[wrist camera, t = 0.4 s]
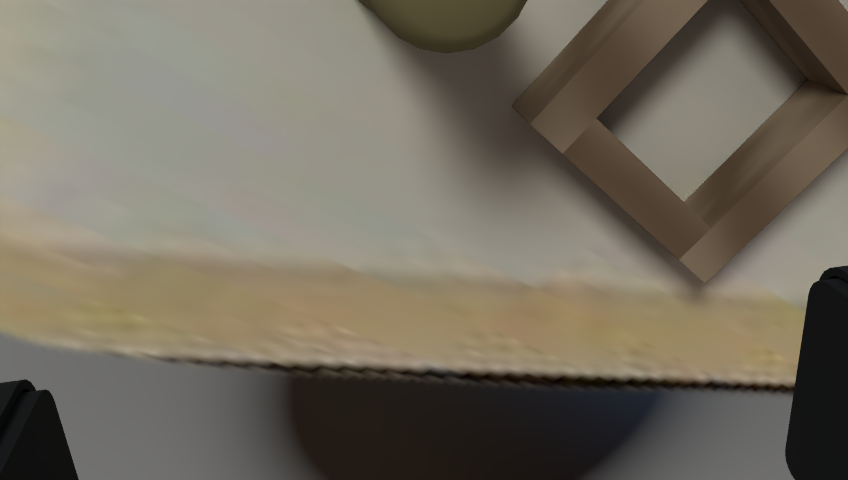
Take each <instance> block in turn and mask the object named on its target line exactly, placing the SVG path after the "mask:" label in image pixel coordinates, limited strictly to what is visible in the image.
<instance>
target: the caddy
mask: <svg viewBox="0 0 848 480" xmlns="http://www.w3.org/2000/svg"><path fill="white" fill-rule="evenodd" d="M707 1H708V0H608V1H607V2H606V3H605V4H604V5H603V7H602V8H601V9H600V10H599V11H598V12H597V13H596V14H595V15H594V16H593V18H592V19H591V20H590V21H589V22H588V23H587V24H586V25H585V26H584V27H583V28H582V30H581V31H580V32H579V33H578V34H577V35H576V36H575V37H574V38H573V39H572V41H571V42H570V43H569V44H568V45H567V46H566V47H565V48H564V49H563V50H562V52H561V53H560V54H559V55H558V56H557V57H556V58H555V59H554V60H553V61H552V62H551V64H550V65H549V66H548V67H547V68H546V69H545V70H544V71H543V72H542V73H541V75H540V76H539V77H538V78H537V79H536V80H535V81H534V82H533V83H532V84H531V86H530V87H529V88H528V89H527V90H526V91H525V92H524V93H523V94H522V95H521V96H520V98H519V99H518V100H517V101H516V102H515V103H514V104H513V105H512V107H513V108H514V109H515V110H516V111H517V112H518V113H519V114H520V115H521V116H522V117H523V118H524V119H525V120H526V121H527V122H528V123H529V124H530V125H531V126H532V127H533V128H535V129H536V130H537V131H538V132H539V133H540V134H541V135H542V136H543V137H544V138H546V139H547V140H548V141H549V142H550V143H551V144H552V145H553V146H554V147H555V148H557V149H558V150H559V151H560V152H561V153H562V154H563V155H564V156H565V157H566V158H568V159H569V160H570V161H571V162H572V163H573V164H574V165H575V166H576V167H577V168H578V169H580V170H581V171H582V172H583V173H584V174H585V175H586V176H587V177H588V178H589V179H591V180H592V181H593V182H594V183H595V184H596V185H597V186H598V187H599V188H600V189H602V190H603V191H604V192H605V193H606V194H607V195H608V196H609V197H610V198H611V199H613V200H614V201H615V202H616V203H617V204H618V205H619V206H620V207H621V208H622V209H624V210H625V211H626V212H627V213H628V214H629V215H630V216H631V217H632V218H633V219H635V220H636V221H637V222H638V223H639V224H640V225H641V226H642V227H643V228H644V229H645V230H647V231H648V232H649V233H650V234H651V235H652V236H653V237H654V238H655V239H656V240H658V241H659V242H660V243H661V244H662V245H663V246H664V247H665V248H666V249H667V250H669V251H670V252H671V253H672V254H673V255H674V256H675V257H676V258H677V259H678V260H680V261H681V262H682V263H683V264H684V265H685V266H686V267H687V268H688V269H689V270H691V271H692V272H693V273H694V274H695V275H696V276H697V277H698V278H699V279H700V280H702V281H703V282H704V283H706V282H707V281H708V280H709V279H711V278H712V277H713V276H714V275H715V274H716V273H717V272H718V271H719V270H720V269H721V268H722V267H723V266H724V265H725V264H726V263H727V262H728V261H729V260H730V259H731V258H733V257H734V256H735V255H736V254H737V253H738V252H739V251H740V250H741V249H742V248H743V247H744V246H745V245H746V244H747V243H748V242H749V241H750V240H751V239H752V238H754V237H755V236H756V235H757V234H758V233H759V232H760V231H761V230H762V229H763V228H764V227H765V226H766V225H767V224H768V223H769V222H770V221H771V220H772V219H773V218H774V217H776V216H777V215H778V214H779V213H780V212H781V211H782V210H783V209H784V208H785V207H786V206H787V205H788V204H789V203H790V202H791V201H792V200H793V199H794V198H795V197H796V196H798V195H799V194H800V193H801V192H802V191H803V190H804V189H805V188H806V187H807V186H808V185H809V184H810V183H811V182H812V181H813V180H814V179H815V178H816V177H817V176H819V175H820V174H821V173H822V172H823V171H824V170H825V169H826V168H827V167H828V166H829V165H830V164H831V163H832V162H833V161H834V160H835V159H836V158H837V157H838V156H839V155H841V154H842V153H843V152H844V151H845V150H846V149H847V148H848V12H847V11H846V9H845V8H844V7H843V5H842V4H841V3H840V2H839V0H740V1H741V2H742V4H743V5H744V6H745V7H746V8H747V9H748V11H749V12H750V13H751V14H752V15H753V16H754V18H755V19H756V20H757V21H758V22H759V23H760V25H761V26H762V27H763V28H764V29H765V30H766V32H767V33H768V34H769V35H770V36H771V37H772V39H773V40H774V41H775V42H776V43H777V44H778V46H779V47H780V48H781V49H782V50H783V51H784V53H785V54H786V55H787V56H788V57H789V58H790V60H791V61H792V62H793V63H794V64H795V65H796V67H797V68H798V69H799V70H800V71H801V72H802V74H803V75H804V76H805V77H806V78H807V79H808V80H807V81H806V82H805V83H804V84H803V85H802V86H801V87H800V88H799V89H798V90H797V91H796V92H795V93H794V94H793V95H792V96H791V97H790V98H789V99H788V100H787V101H786V102H785V103H784V104H783V105H782V106H781V107H780V108H779V109H778V110H777V111H776V112H775V113H774V114H773V115H772V116H771V117H770V118H769V119H768V120H767V121H766V122H765V123H764V124H762V125H761V126H760V127H759V128H758V129H757V130H756V131H755V132H754V133H753V134H752V135H751V136H750V137H749V138H748V139H747V140H746V141H745V142H744V143H743V144H742V145H741V146H740V147H739V148H738V149H737V150H736V151H735V152H734V153H733V154H732V155H731V156H730V157H729V158H728V159H727V160H726V161H725V162H724V163H723V164H722V165H721V166H720V167H719V168H718V169H717V170H716V171H715V172H714V173H713V174H712V175H711V176H710V177H709V178H708V179H707V180H706V181H705V182H704V183H703V184H702V185H701V186H700V187H699V188H698V189H697V190H696V191H695V192H694V193H693V194H692V195H691V196H690V197H689V198H688V199H687V200H686V201H685V202H683V201H682V200H681V199H680V198H679V197H678V196H677V195H676V194H675V193H674V192H673V191H672V190H671V189H669V188H668V187H667V186H666V185H665V184H664V183H663V182H662V181H661V180H660V179H659V178H658V177H657V176H656V175H655V174H654V173H653V172H652V171H651V170H650V169H649V168H648V167H647V166H645V165H644V164H643V163H642V162H641V161H640V160H639V159H638V158H637V157H636V156H635V155H634V154H633V153H632V152H631V151H630V150H629V149H628V148H627V147H626V146H625V145H624V144H623V143H622V142H620V141H619V140H618V139H617V138H616V137H615V136H614V135H613V134H612V133H611V132H610V131H609V130H608V129H607V128H606V127H605V126H604V125H603V124H602V123H601V122H600V121H599V120H598V119H596V118H597V117H598V116H599V115H600V114H601V113H602V111H603V110H604V109H605V108H606V107H607V106H608V105H609V104H610V103H611V102H612V101H613V100H614V99H615V98H616V97H617V96H618V95H619V94H620V92H621V91H622V90H623V89H624V88H625V87H626V86H627V85H628V84H629V83H630V82H631V81H632V80H633V79H634V78H635V77H636V76H637V75H638V73H639V72H640V71H641V70H642V69H643V68H644V67H645V66H646V65H647V64H648V63H649V62H650V61H651V60H652V59H653V58H654V57H655V55H656V54H657V53H658V52H659V51H660V50H661V49H662V48H663V47H664V46H665V45H666V44H667V43H668V42H669V41H670V40H671V39H672V38H673V36H674V35H675V34H676V33H677V32H678V31H679V30H680V29H681V28H682V27H683V26H684V25H685V24H686V23H687V22H688V21H689V20H690V19H691V17H692V16H693V15H694V14H695V13H696V12H697V11H698V10H699V9H700V8H701V7H702V6H703V5H704V4H705V3H706V2H707Z"/></svg>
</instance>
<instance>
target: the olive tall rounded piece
mask: <svg viewBox="0 0 848 480" xmlns="http://www.w3.org/2000/svg"><path fill="white" fill-rule="evenodd" d="M360 1H361V2H362V4H363V5H365V6H366V7H368V8H370V9H372V10H374V11H376V13H377V15H378V17H379V18H380V19H381V20H382V21H383V22H384V23H385V24H386V25H387V26H388V27H389V28H390V29H391V30H392V31H393V32H394V33H395V35H396V36H397V37H399V38H401V39H403V40H405V41H407V42H409V43H411V44H412V45H414V46H416V47H418V48H420V49H424V50H430V51H436V52H442V53H451V52H457V51H464V50H470V49H474V48H477V47H479V46H480V45H482V44H484V43H486V42H488V41H490V40H492V39H494V38H496V37H498V36H499V35H500V34H501V33H502V32H503V31H504V30H505V29H506V28H507V27H509V26H510V25H511V24H512V23H513V22H514V21H515V20H516V19H517V18H518V16H519V14H520V12H521V10H522V9H523V7H524V5H525V3H526V2H527V0H360Z"/></svg>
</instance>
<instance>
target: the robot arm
mask: <svg viewBox="0 0 848 480" xmlns="http://www.w3.org/2000/svg"><path fill="white" fill-rule="evenodd" d="M785 456H786V462H787V464H788V468H789V470H790V472H791V474H792V476H793V477H794V479H795V480H848V266H841V267H834V268H829V269H828V270H826V271H824V273H823V274H822V276H821V277H820V280H819V281H817V282H815V283H814V284H813V285H812V286H811V288H810V291H809V296H808V302H807V309H806V315H805V322H804V329H803V335H802V342H801V349H800V355H799V362H798V369H797V375H796V382H795V389H794V395H793V402H792V409H791V415H790V422H789V430H788V435H787V442H786V449H785ZM0 480H79V479H78V476H77V473H76V470H75V466H74V463H73V460H72V457H71V453H70V450H69V447H68V444H67V441H66V437H65V434H64V431H63V427H62V424H61V421H60V418H59V414H58V411H57V408H56V404H55V401H54V399H53V396H52V395H51V393H50V392H49V391H48V390H39V391H36V390H35V387H34V386H33V385H32V383H31V382H30V381H28V380H19V381H11V382H4V383H0Z"/></svg>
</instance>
